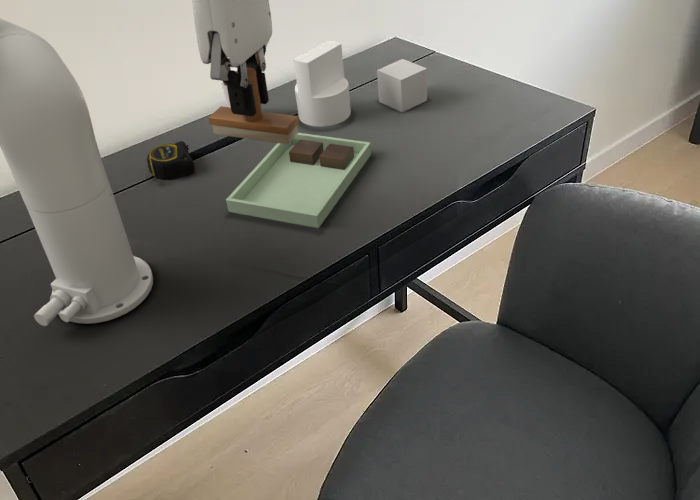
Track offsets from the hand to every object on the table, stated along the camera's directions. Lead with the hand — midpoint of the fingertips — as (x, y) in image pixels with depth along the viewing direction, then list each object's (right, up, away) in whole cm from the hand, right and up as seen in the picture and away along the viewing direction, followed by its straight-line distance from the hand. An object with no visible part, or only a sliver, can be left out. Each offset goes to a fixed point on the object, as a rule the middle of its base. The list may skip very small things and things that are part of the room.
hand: (250, 106), depth 92 cm
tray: (+5, -8, +19) cm, 22 cm away
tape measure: (-15, -5, +26) cm, 30 cm away
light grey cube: (+22, +8, +39) cm, 45 cm away
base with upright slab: (+8, +5, +36) cm, 37 cm away
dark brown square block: (+6, -3, +24) cm, 25 cm away
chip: (+10, -4, +23) cm, 25 cm away
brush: (0, -3, +2) cm, 4 cm away
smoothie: (-6, +4, +37) cm, 38 cm away
